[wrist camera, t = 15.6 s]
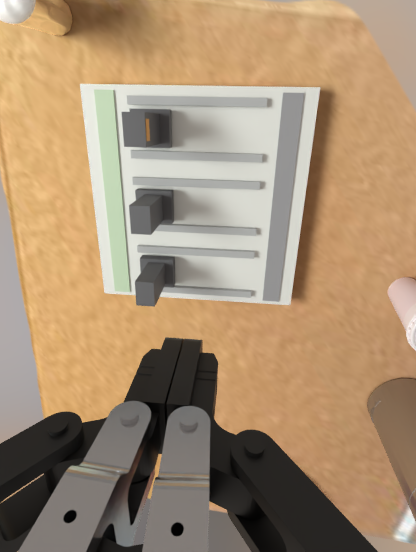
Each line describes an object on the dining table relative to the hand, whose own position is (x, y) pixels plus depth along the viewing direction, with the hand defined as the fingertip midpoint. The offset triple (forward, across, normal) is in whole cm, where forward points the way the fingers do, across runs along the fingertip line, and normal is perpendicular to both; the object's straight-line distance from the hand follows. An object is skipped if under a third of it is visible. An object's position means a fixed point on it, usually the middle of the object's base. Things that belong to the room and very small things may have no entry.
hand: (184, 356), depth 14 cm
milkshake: (+29, +17, -18) cm, 38 cm away
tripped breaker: (+27, +8, -8) cm, 29 cm away
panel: (+29, +3, 0) cm, 29 cm away
